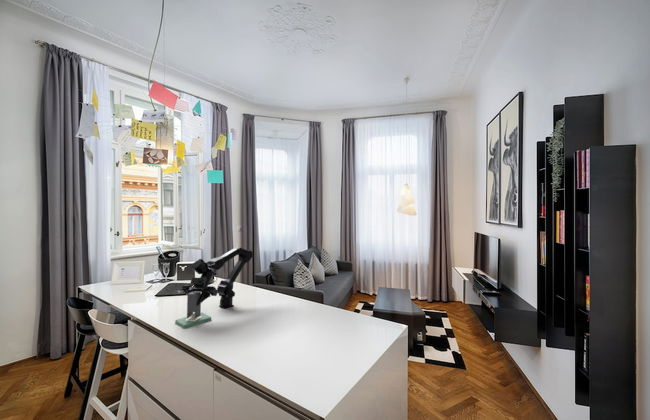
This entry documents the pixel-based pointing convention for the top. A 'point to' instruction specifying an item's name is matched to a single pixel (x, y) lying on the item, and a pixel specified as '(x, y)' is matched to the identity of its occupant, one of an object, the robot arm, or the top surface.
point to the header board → (192, 320)
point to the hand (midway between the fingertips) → (192, 305)
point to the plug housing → (193, 304)
